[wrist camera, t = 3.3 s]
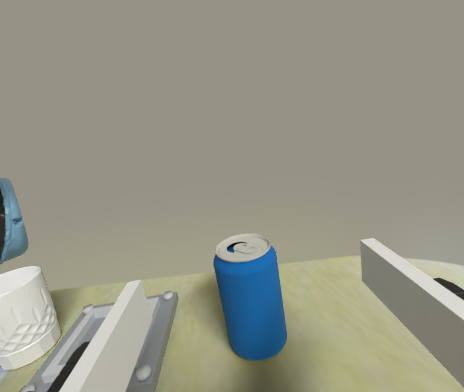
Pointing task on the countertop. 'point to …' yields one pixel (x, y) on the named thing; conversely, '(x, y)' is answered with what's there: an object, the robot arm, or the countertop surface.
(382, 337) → the countertop surface
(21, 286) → the white cup
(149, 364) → the socket plate
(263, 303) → the beverage can
